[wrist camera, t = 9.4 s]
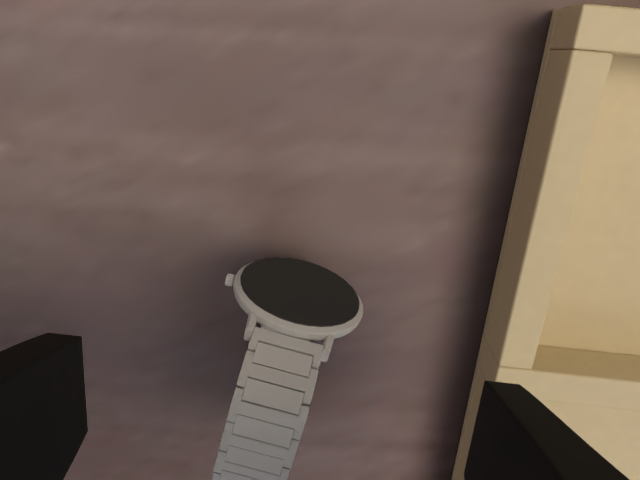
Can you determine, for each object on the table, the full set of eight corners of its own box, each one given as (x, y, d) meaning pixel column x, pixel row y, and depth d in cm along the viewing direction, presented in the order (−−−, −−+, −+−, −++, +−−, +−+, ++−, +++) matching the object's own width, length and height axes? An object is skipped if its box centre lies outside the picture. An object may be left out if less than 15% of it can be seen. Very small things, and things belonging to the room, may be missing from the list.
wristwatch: (364, 255, 13) (369, 365, 9) (312, 413, 15) (293, 577, 10) (253, 223, 13) (198, 317, 9) (213, 386, 15) (149, 539, 10)
